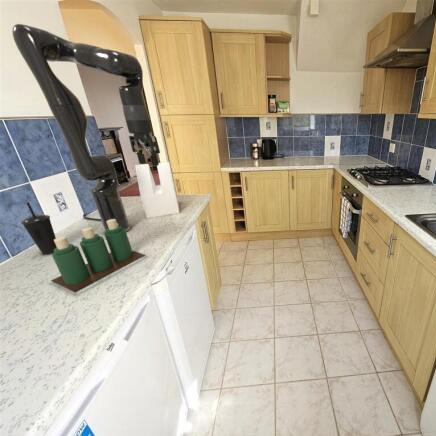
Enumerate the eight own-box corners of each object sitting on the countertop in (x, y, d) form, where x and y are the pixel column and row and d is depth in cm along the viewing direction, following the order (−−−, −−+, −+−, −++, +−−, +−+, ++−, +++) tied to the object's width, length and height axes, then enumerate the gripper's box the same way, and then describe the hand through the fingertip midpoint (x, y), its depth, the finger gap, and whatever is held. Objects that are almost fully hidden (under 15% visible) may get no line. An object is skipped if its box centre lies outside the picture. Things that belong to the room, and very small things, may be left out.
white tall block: (179, 212, 128) (168, 165, 118) (146, 218, 122) (132, 168, 112) (178, 202, 144) (169, 159, 134) (149, 206, 138) (137, 162, 129)
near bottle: (61, 281, 74) (41, 241, 69) (83, 271, 79) (66, 232, 73) (71, 286, 72) (52, 245, 66) (94, 275, 77) (77, 236, 71)
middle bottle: (86, 269, 80) (70, 231, 74) (106, 260, 85) (92, 223, 79) (97, 273, 78) (81, 234, 72) (116, 264, 82) (102, 226, 77)
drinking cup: (68, 248, 96) (47, 200, 88) (45, 258, 89) (20, 207, 81) (56, 245, 98) (34, 198, 90) (32, 254, 91) (6, 205, 83)
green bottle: (109, 258, 86) (96, 222, 80) (126, 250, 91) (114, 216, 85) (120, 262, 83) (106, 225, 78) (136, 253, 88) (125, 218, 83)
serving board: (51, 283, 75) (50, 280, 75) (122, 249, 93) (121, 247, 93) (76, 295, 70) (75, 292, 69) (146, 257, 88) (146, 255, 87)
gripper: (116, 119, 87) (129, 164, 93) (137, 119, 80) (150, 168, 86) (137, 118, 93) (148, 161, 99) (159, 118, 86) (169, 164, 92)
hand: (149, 164), depth 93 cm, fingers open, 8 cm apart
